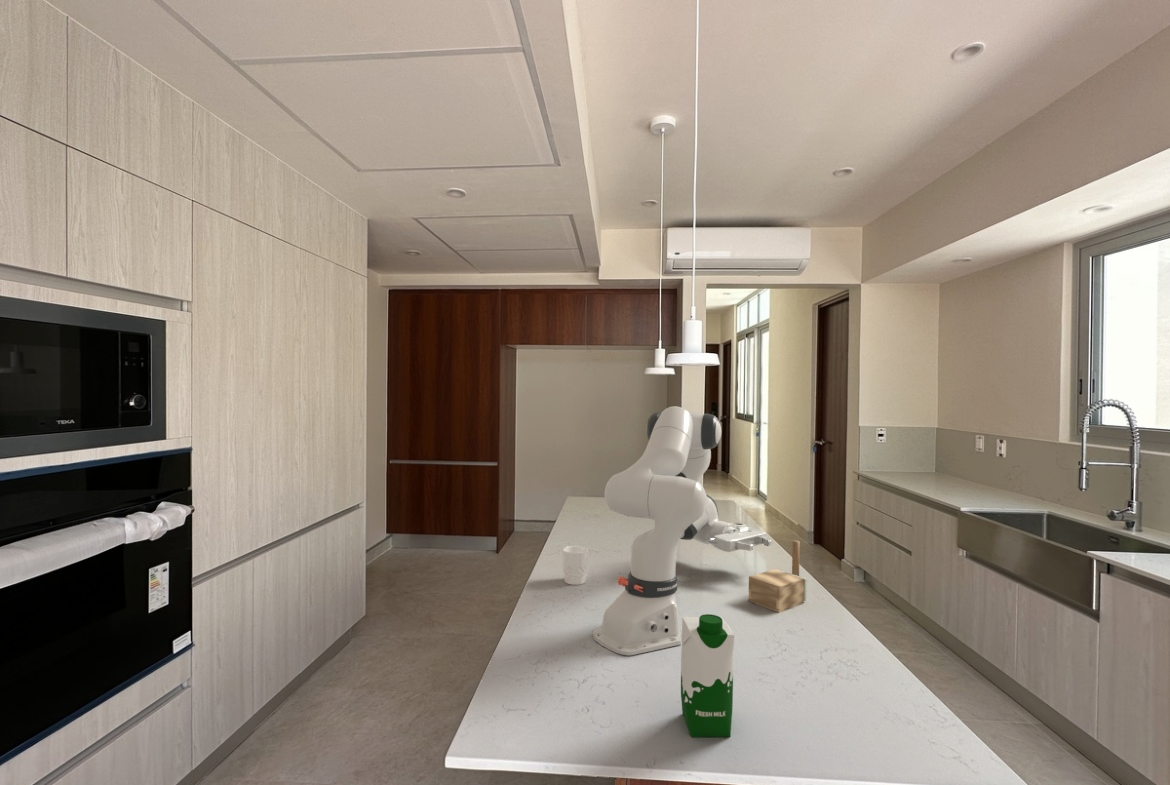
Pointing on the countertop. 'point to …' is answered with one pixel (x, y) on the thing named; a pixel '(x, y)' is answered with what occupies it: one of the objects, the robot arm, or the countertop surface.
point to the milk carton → (707, 675)
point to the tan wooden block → (776, 590)
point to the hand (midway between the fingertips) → (761, 545)
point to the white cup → (575, 564)
